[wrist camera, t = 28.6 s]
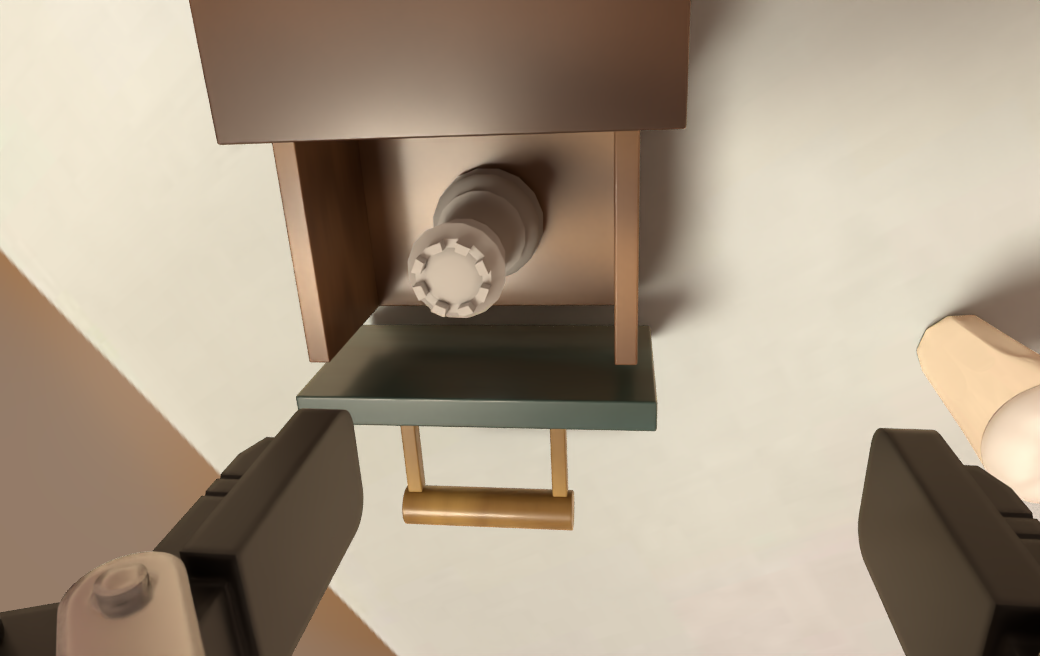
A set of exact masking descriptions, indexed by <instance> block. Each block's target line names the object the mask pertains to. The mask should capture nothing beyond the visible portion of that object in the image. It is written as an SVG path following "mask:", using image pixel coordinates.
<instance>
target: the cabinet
mask: <svg viewBox="0 0 1040 656" xmlns="http://www.w3.org/2000/svg"><path fill="white" fill-rule="evenodd" d="M189 3H190V8H191V13H192V18H193V23H194V28H195V33H196V38H197V43H198V48H199V53H200V58H201V63H202V68H203V73H204V78H205V83H206V88H207V93H208V98H209V103H210V108H211V113H212V118H213V123H214V128H215V133H216V138H217V143H218V144H219V145H231V144H260V143H289V142H318V141H348V140H377V139H406V138H435V137H465V136H494V135H523V134H552V133H581V132H611V131H640V130H669V129H685V128H686V125H687V96H688V66H689V37H690V8H691V0H189Z"/></svg>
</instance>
